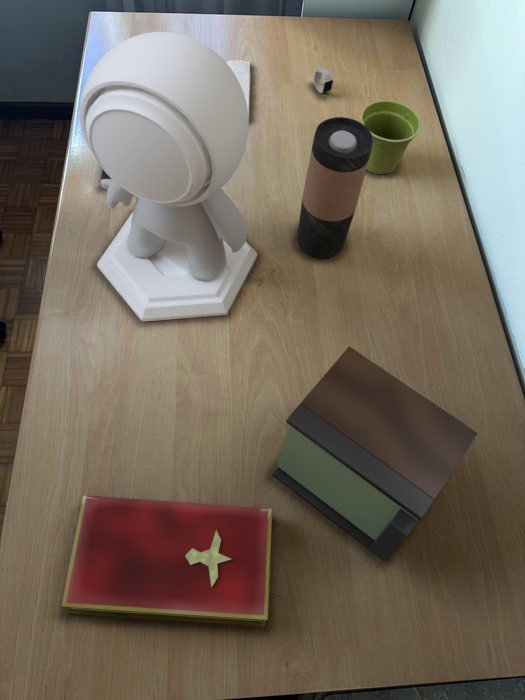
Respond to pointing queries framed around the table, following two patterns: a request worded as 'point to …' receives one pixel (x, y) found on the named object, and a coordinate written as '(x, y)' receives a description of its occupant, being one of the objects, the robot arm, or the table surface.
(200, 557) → the hardcover book
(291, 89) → the table surface
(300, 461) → the closet door
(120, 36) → the table surface
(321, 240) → the travel mug
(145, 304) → the white cartoon figure
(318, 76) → the smartwatch
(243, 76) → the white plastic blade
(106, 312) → the table surface
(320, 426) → the closet
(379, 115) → the plant pot
